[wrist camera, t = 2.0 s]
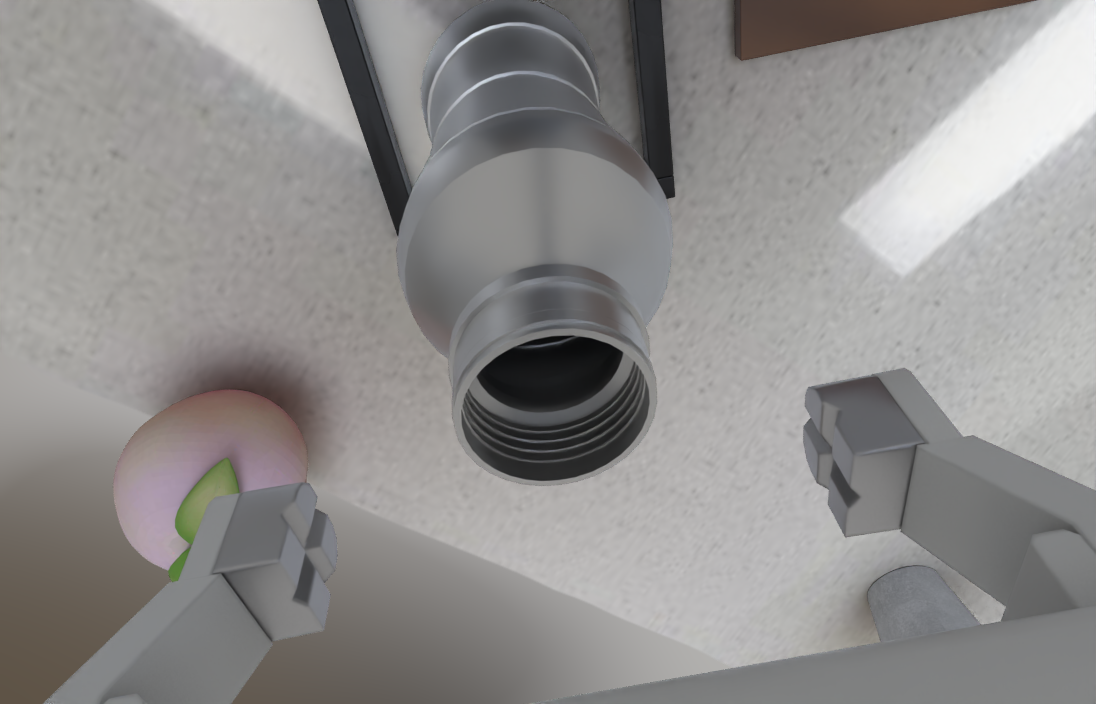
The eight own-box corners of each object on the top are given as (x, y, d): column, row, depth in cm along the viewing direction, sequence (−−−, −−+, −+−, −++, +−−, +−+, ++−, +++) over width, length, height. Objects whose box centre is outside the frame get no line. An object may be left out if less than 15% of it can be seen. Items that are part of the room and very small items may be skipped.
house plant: (1064, 535, 50) (1271, 788, 37) (947, 645, 58) (1085, 888, 45) (889, 509, 47) (1049, 778, 34) (790, 631, 55) (890, 887, 42)
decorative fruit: (148, 331, 34) (49, 490, 26) (327, 350, 36) (285, 507, 28) (168, 469, 40) (91, 636, 32) (322, 482, 41) (286, 644, 33)
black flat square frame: (303, -63, 25) (297, -58, 24) (644, -137, 25) (651, -135, 24) (404, 238, 32) (402, 251, 31) (669, 185, 32) (675, 197, 31)
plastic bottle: (397, 112, 29) (306, 482, 13) (473, -55, 26) (477, 167, 10) (536, 183, 31) (603, 572, 15) (623, 39, 28) (823, 342, 12)
